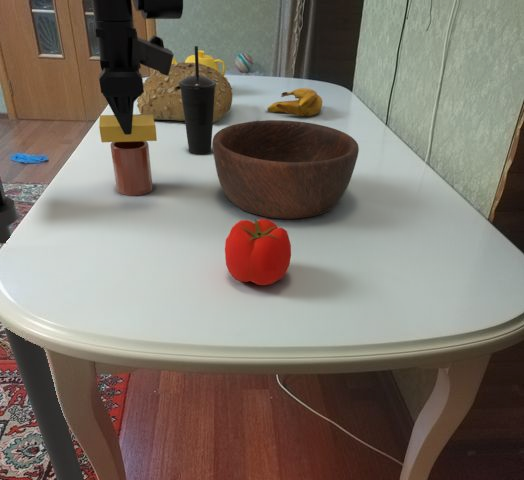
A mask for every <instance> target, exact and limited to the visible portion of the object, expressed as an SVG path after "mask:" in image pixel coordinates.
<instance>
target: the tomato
mask: <svg viewBox="0 0 524 480" xmlns="http://www.w3.org/2000/svg"><path fill="white" fill-rule="evenodd" d="M224 244H225V245H224V256H225V265H226V268H227V270H228V273H229V274H230V276H231V277H232V278H234V279H235V280H237V281H240V282H243V283H244V282H245V283H247V282H252V283H253V284H256V285H259V286H267V285H268V286H269V285H273V284H274V283H275V282H277V281H280V280H281V279H283V278H284V277H285V276H286V274H287V272H288V270H289V267H290V264H291V257H292V244H291V240H290V237H289V233H288V231H287V230H286V229H285V228H284V227H278V224H277V223H275V222H274V221H272V220H271V219H268V218H260V219H255V218H254V222H253V221H251V220H249V219H242V220H239V221H238V222H236V223H235V224H234V225H233V226H232V227H231V229H230V231H229V233H228V236H227V237H226V238H225V243H224Z"/></svg>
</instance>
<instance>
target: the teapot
mask: <svg viewBox="0 0 524 480" xmlns="http://www.w3.org/2000/svg"><path fill="white" fill-rule="evenodd" d="M198 61H199V64H202V65H205V66H208V67H211V68H213V69H215V70H217V71H218V72H220V73H221V75H222V76H224V77H225V78H226V80H227V81H228V82H229V79H228V77H226V76H225V74H226V68H227V67H226V62H224V61H223V60H222V59H220V58H217V59H216V58H214V57H213V56H211V55H209V54H205V51H204V50H198ZM173 63H174V64H179V63H178V62H177V61H176V58H175V57H173V60H172V64H173ZM184 63H195V54H192V55H191V54H190V55H189V56H187V58H186V59H185V61H184ZM218 63H219V64H221V65H222V72H221V69H220V67H219V65H218Z"/></svg>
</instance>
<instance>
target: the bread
mask: <svg viewBox="0 0 524 480" xmlns="http://www.w3.org/2000/svg"><path fill="white" fill-rule="evenodd" d="M220 72H221V71H220ZM220 72H218V71H217V70H215V69H213V68H211V67H208V66H205V65H202V64H199V75H200V76H205V77H207V78H209V79H211V80H213V81H215V82H216V87H215V96H214V111H213V123H216V122H219V121H221V120H222V119H223V118H224V117H225V116H227V114H228V113H229V112H230V110H231V107H232V104H233V94H234V93H233V88H232V85H231V83H230V82H229V80H228V81H227V80H226V78H227V77H226V76H225V75H224V76H222V72H221V73H220ZM193 75H196V71H195V63H185V61H184V62H183V61H181V62H179V63H178V64H174V63H173V64H171V68H170V72H169V75H168V76H167V75H164V74H161V73H160V72H159V71H157V70H155V69H153V72H152V73H151V74H150V75H149V76H148V77H147V78H146V79H145V80H144V82H143V89H144V93H142V95H141V96H139V97H138V98H137V99H136V103H137V104H136V106H137V108H138V111H139V114H153V118H154V120H160V121H161V120H162V121H182V122H185V118H184V110H183V103H182V95H181V88H180V86H179V81H181V80H183V79H185V78H186V77H189V76H193ZM225 77H226V78H225Z"/></svg>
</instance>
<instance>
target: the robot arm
mask: <svg viewBox="0 0 524 480" xmlns="http://www.w3.org/2000/svg"><path fill="white" fill-rule="evenodd" d="M132 3H133V5H132ZM91 5H92V12H93V18H94V26H95V27H94V29H95V37H96V39H97V48H98V55H99V64H100V69H101V72H100V73H99V77H98V79H99V80H98V81H99V88H100V94H102V95H103V97H104V98H105V100H106V102H107V104H108V106H109V108H110V110H111V111H112V113H113V115H115V117H116V119H117V121H118V123H119V124H120V126H121V128H122V130H123V132H124V134H125V135H130V134H131V132H132V120H133V115H134V107H135V102H136V101H137V99H138V98H139V96H141V95H142V93H144V89H143V83H144V81H143V80H144V79H143V75H142V73H141V72H140V69H142V68H141V67H142V66H144V67H147V68H150V69H152V70H157V71H159V72H160V73H161V74H164V75H167V76H168V75H169V72H170V68H171V64H172V60H173V58H174V56H175V54H174V53H173V51H172V50H171V49H169V48H167V47H165V45H164V39H163V38H162V37H159V36H157V35H155V34H153V35H152V36H151V37H150V38H149V40H147V39H144V38H141V37H138V31H137V28H136V27H135V23H134V22H135V21H134V14H133V7H134V10H135V11H136V12H140V14H141V16H142V18H143V19H144V20H180V19H181V18H182V16H183V13H184V0H91ZM4 188H5V187H4V184H3V182H2V179H1V177H0V212H1V210H2V207H3V205H4V203H5V201H6V197H7V196H6V193H5V189H4Z"/></svg>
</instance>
